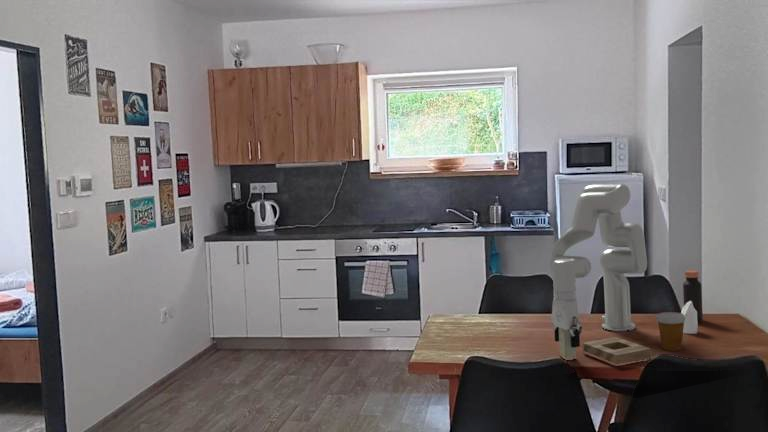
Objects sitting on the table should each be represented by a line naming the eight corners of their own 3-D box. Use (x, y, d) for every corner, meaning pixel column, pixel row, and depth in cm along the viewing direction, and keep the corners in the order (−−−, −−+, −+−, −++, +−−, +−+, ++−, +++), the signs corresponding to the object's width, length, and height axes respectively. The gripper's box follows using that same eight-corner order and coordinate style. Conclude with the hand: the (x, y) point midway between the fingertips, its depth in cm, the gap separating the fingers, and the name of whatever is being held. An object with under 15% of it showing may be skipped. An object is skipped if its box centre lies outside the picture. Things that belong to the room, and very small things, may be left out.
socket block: (583, 354, 254) (583, 343, 254) (616, 347, 259) (616, 336, 258) (616, 367, 237) (615, 355, 237) (650, 360, 242) (650, 348, 241)
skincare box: (559, 356, 254) (557, 322, 253) (571, 355, 254) (569, 321, 253) (565, 361, 247) (563, 326, 246) (577, 360, 248) (576, 325, 247)
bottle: (680, 320, 290) (678, 271, 288) (693, 317, 292) (691, 269, 291) (693, 323, 283) (692, 273, 282) (706, 320, 286) (704, 271, 284)
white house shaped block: (677, 300, 273) (689, 298, 275) (678, 331, 274) (690, 329, 276) (688, 303, 268) (700, 301, 269) (689, 334, 269) (701, 332, 270)
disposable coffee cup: (683, 353, 247) (682, 318, 246) (654, 350, 252) (653, 317, 251) (688, 345, 255) (687, 312, 254) (660, 343, 260) (659, 311, 259)
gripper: (541, 292, 256) (544, 340, 257) (570, 300, 239) (572, 351, 241) (560, 290, 258) (562, 337, 259) (589, 297, 242) (591, 347, 243)
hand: (567, 343), depth 250 cm, fingers open, 9 cm apart
